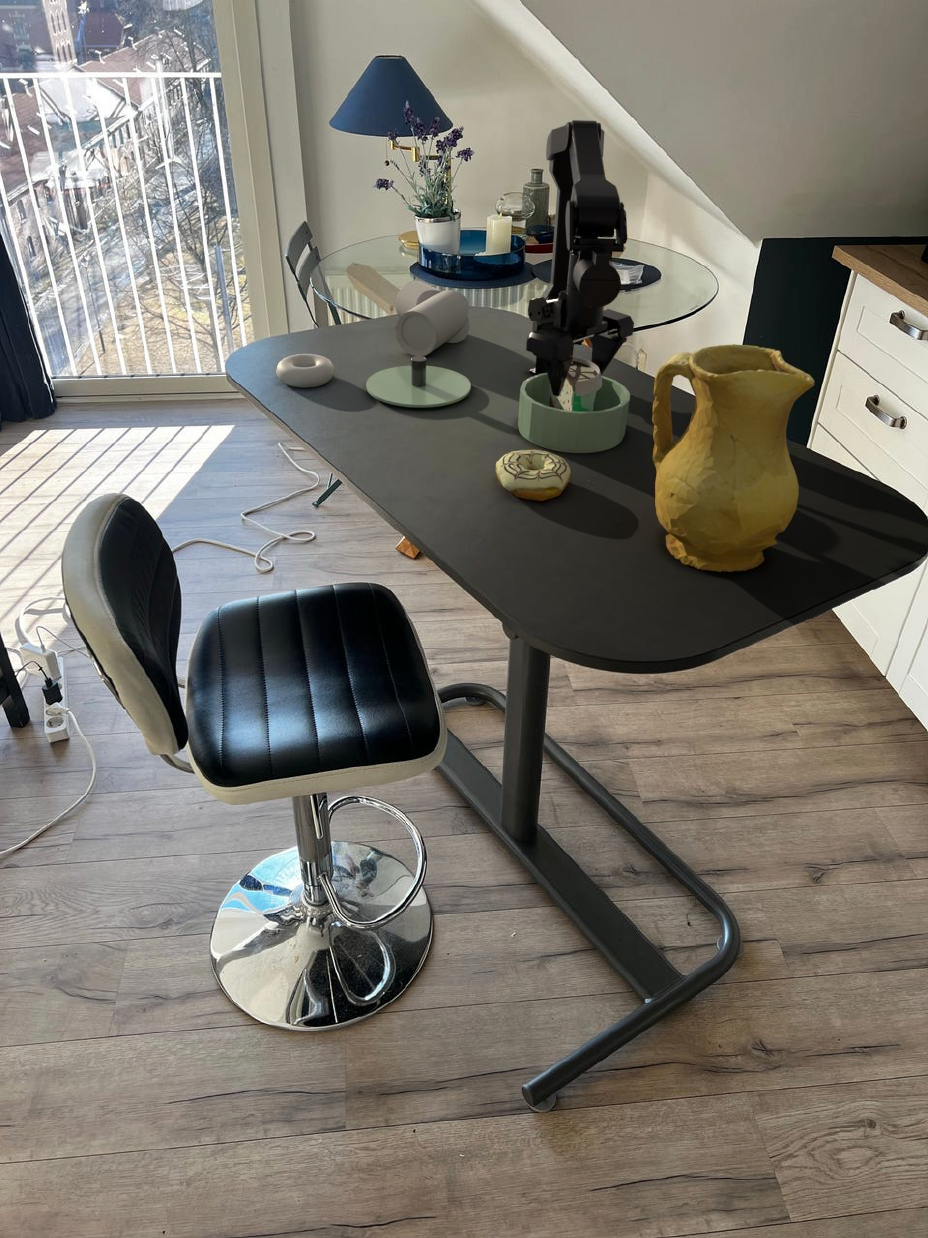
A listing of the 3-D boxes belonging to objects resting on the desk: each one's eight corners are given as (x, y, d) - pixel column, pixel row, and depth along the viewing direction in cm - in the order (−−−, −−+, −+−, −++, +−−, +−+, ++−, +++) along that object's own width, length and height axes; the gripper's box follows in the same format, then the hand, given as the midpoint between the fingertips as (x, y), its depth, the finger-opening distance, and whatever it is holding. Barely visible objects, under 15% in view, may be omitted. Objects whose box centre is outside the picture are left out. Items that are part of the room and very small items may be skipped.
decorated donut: (499, 504, 126) (500, 479, 124) (492, 468, 135) (493, 445, 133) (574, 503, 127) (576, 479, 125) (562, 468, 136) (564, 444, 133)
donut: (328, 393, 156) (340, 370, 164) (326, 373, 154) (339, 352, 162) (270, 389, 157) (285, 367, 165) (268, 369, 155) (283, 348, 163)
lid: (422, 363, 169) (423, 333, 165) (492, 392, 158) (493, 361, 155) (345, 387, 158) (343, 355, 155) (413, 420, 148) (413, 387, 145)
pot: (565, 400, 157) (569, 363, 153) (645, 432, 147) (652, 394, 143) (496, 426, 147) (498, 388, 143) (577, 463, 137) (581, 422, 133)
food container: (607, 442, 142) (616, 380, 136) (570, 445, 141) (577, 383, 135) (580, 410, 152) (586, 351, 146) (545, 413, 151) (550, 353, 145)
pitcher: (699, 594, 109) (741, 388, 95) (616, 527, 123) (642, 339, 110) (811, 570, 115) (865, 373, 101) (720, 509, 129) (757, 329, 116)
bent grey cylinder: (497, 339, 177) (438, 311, 189) (490, 286, 169) (430, 261, 182) (422, 376, 170) (367, 344, 183) (412, 323, 163) (355, 293, 176)
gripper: (585, 263, 144) (575, 360, 153) (502, 284, 133) (496, 387, 142) (642, 279, 137) (628, 379, 146) (560, 302, 126) (550, 409, 136)
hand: (575, 388), depth 143 cm, fingers open, 9 cm apart
